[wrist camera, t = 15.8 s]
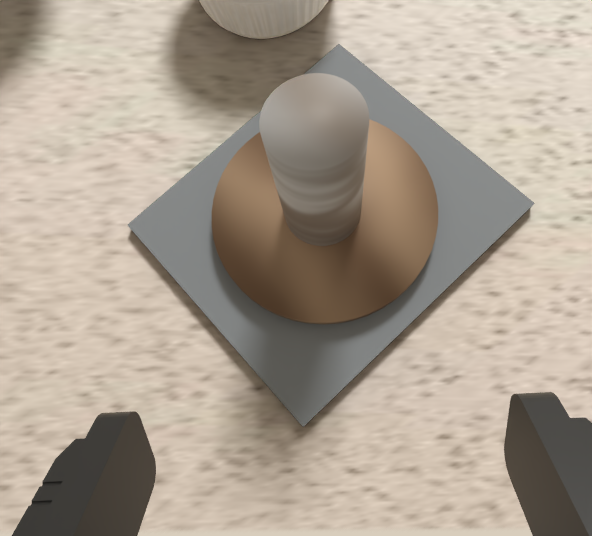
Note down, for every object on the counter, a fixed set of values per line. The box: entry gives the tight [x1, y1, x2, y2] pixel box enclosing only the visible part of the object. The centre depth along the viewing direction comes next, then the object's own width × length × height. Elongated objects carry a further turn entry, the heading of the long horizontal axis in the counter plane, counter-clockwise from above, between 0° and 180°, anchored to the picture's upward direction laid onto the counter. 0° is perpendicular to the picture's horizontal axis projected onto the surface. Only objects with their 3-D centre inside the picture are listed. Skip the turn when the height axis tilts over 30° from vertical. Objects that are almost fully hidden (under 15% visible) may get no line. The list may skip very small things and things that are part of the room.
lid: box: [212, 73, 438, 324], centre depth 24 cm, size 13×13×10 cm
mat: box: [128, 44, 534, 427], centre depth 29 cm, size 18×16×1 cm
